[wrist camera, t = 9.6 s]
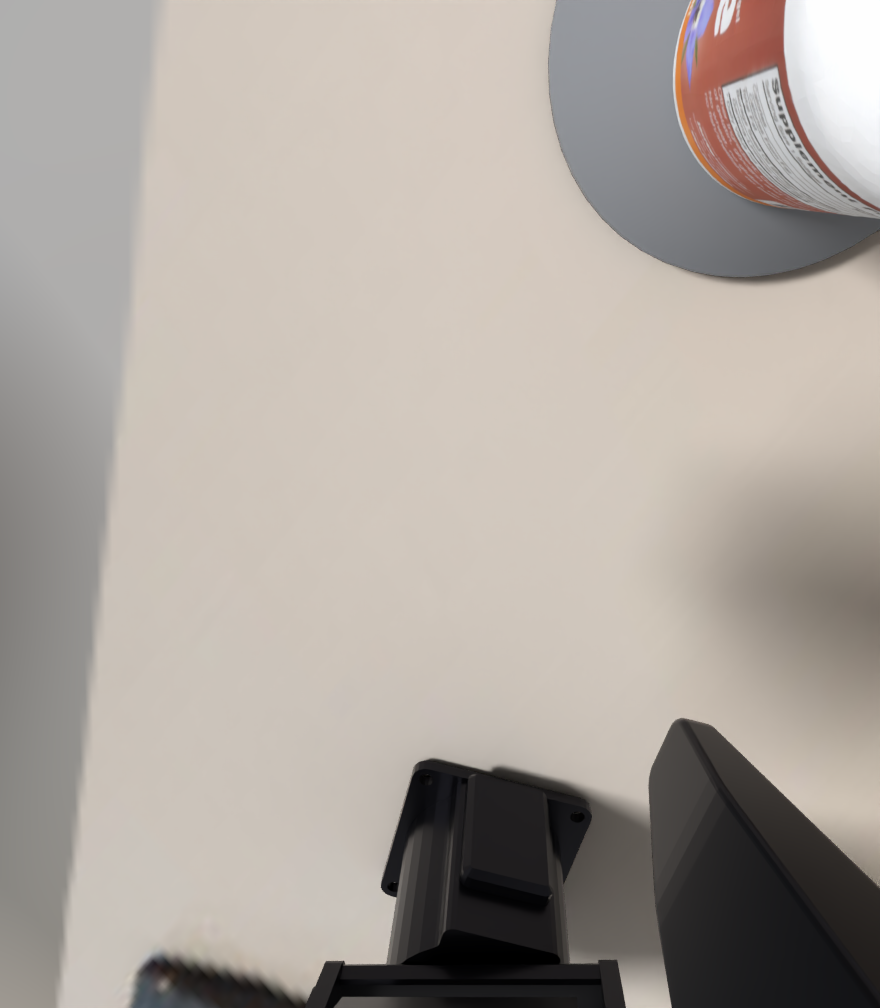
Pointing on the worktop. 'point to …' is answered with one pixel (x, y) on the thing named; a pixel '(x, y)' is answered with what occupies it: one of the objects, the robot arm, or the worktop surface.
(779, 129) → the pill bottle
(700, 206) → the mat
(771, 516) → the worktop surface
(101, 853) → the worktop surface
